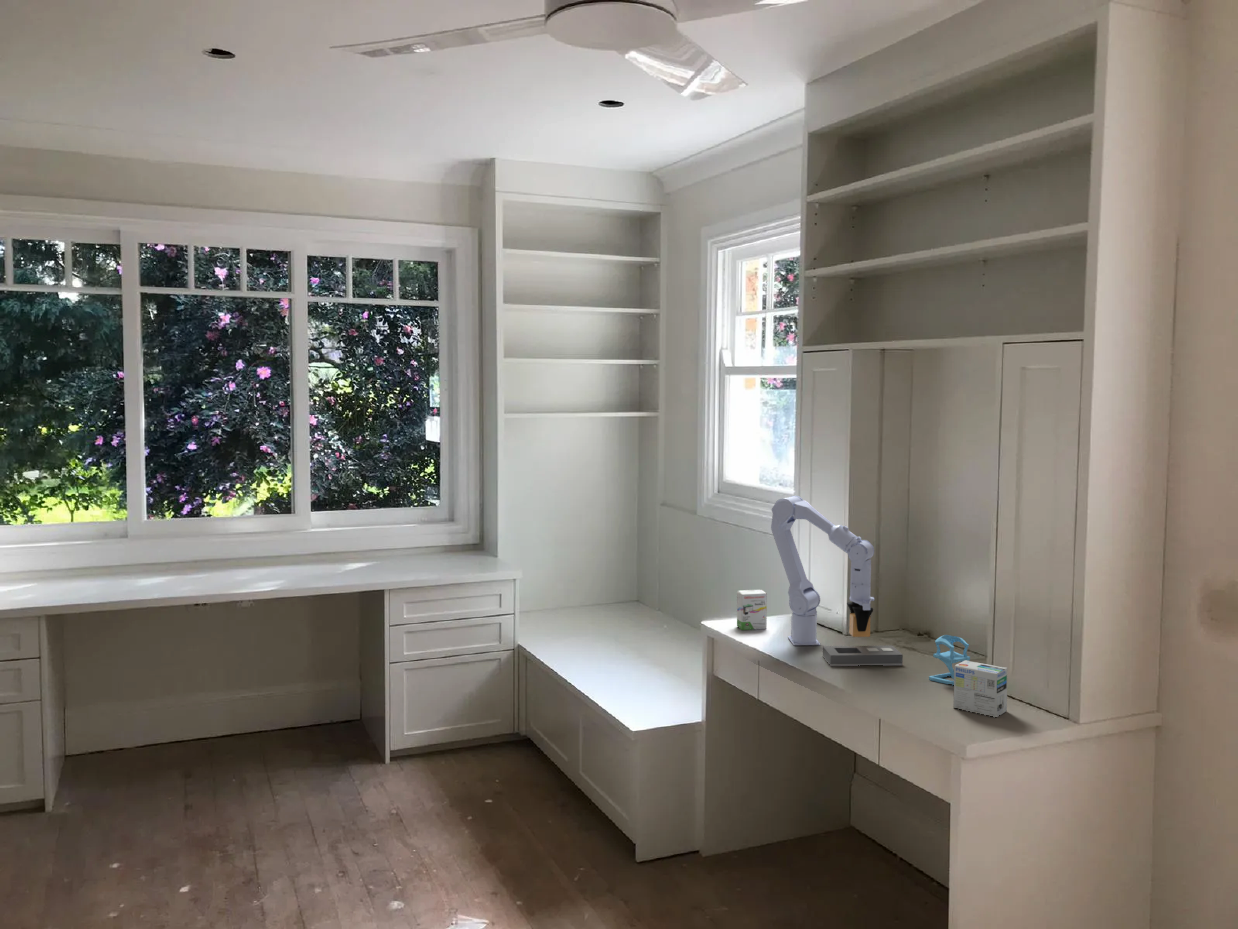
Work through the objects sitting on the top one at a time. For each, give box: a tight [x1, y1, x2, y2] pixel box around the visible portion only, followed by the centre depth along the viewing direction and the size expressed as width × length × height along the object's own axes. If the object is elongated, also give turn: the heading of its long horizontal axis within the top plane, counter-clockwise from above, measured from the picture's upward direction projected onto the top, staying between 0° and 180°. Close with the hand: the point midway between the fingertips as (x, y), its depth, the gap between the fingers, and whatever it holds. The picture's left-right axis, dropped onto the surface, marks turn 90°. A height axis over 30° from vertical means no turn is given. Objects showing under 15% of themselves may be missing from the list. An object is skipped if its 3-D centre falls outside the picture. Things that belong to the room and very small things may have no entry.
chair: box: [928, 634, 971, 686], centre depth 257 cm, size 8×8×12 cm
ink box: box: [736, 589, 768, 631], centre depth 314 cm, size 8×5×12 cm, turn 101°
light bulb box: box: [952, 660, 1008, 718], centre depth 236 cm, size 11×7×11 cm, turn 48°
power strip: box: [822, 644, 904, 667], centre depth 277 cm, size 10×20×3 cm, turn 91°
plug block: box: [848, 612, 872, 638], centre depth 287 cm, size 4×5×6 cm
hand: (859, 629), depth 287 cm, fingers closed on plug block, 4 cm apart
